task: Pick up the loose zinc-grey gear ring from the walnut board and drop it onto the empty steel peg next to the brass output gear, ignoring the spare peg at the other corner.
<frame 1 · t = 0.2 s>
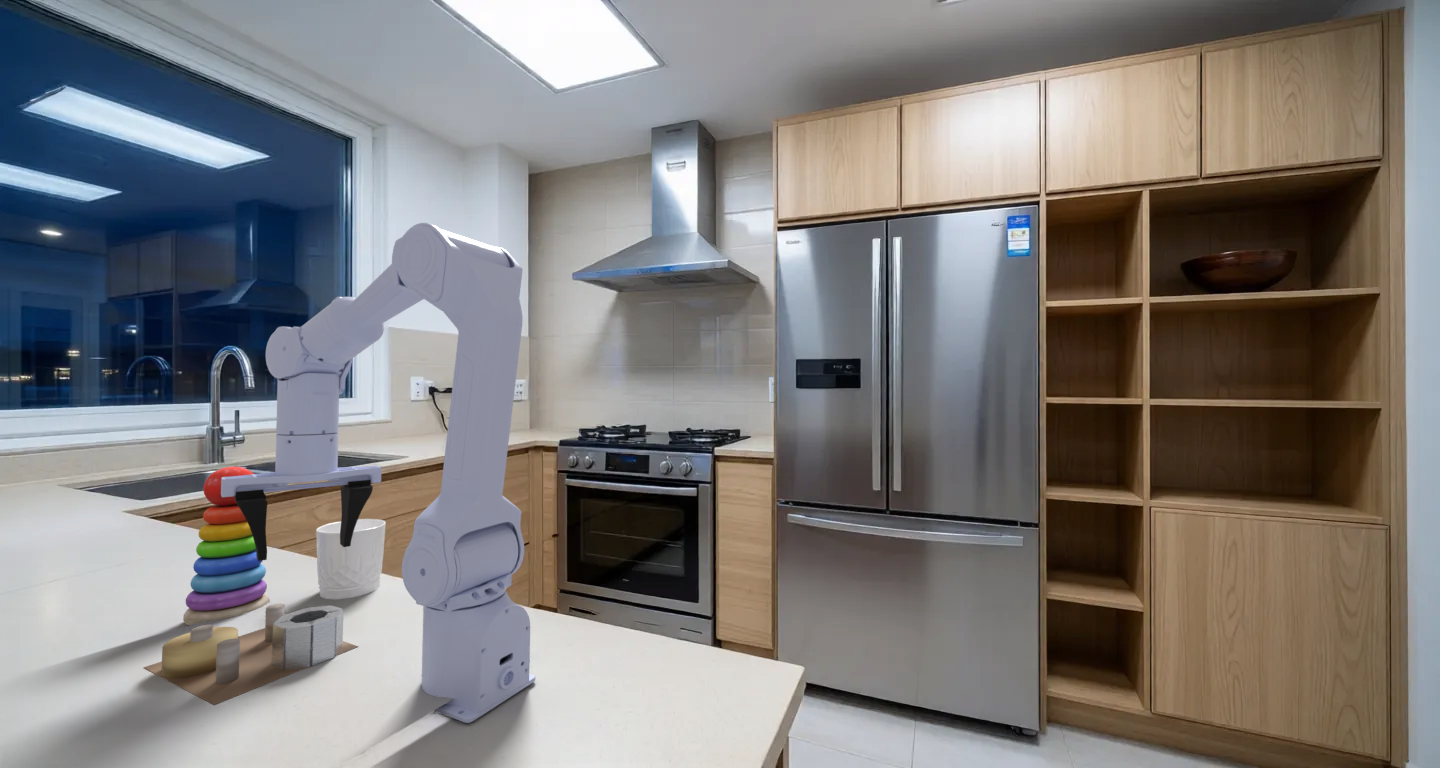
hand: (305, 551, 62), 10 cm above the counter, tool pointing down, fingers open, 7 cm apart
white cup: (350, 599, 73), on the counter
gear ring: (308, 655, 55), point 1 cm above the counter, touching board
stacking toy: (227, 618, 67), on the counter
board: (255, 668, 55), on the counter
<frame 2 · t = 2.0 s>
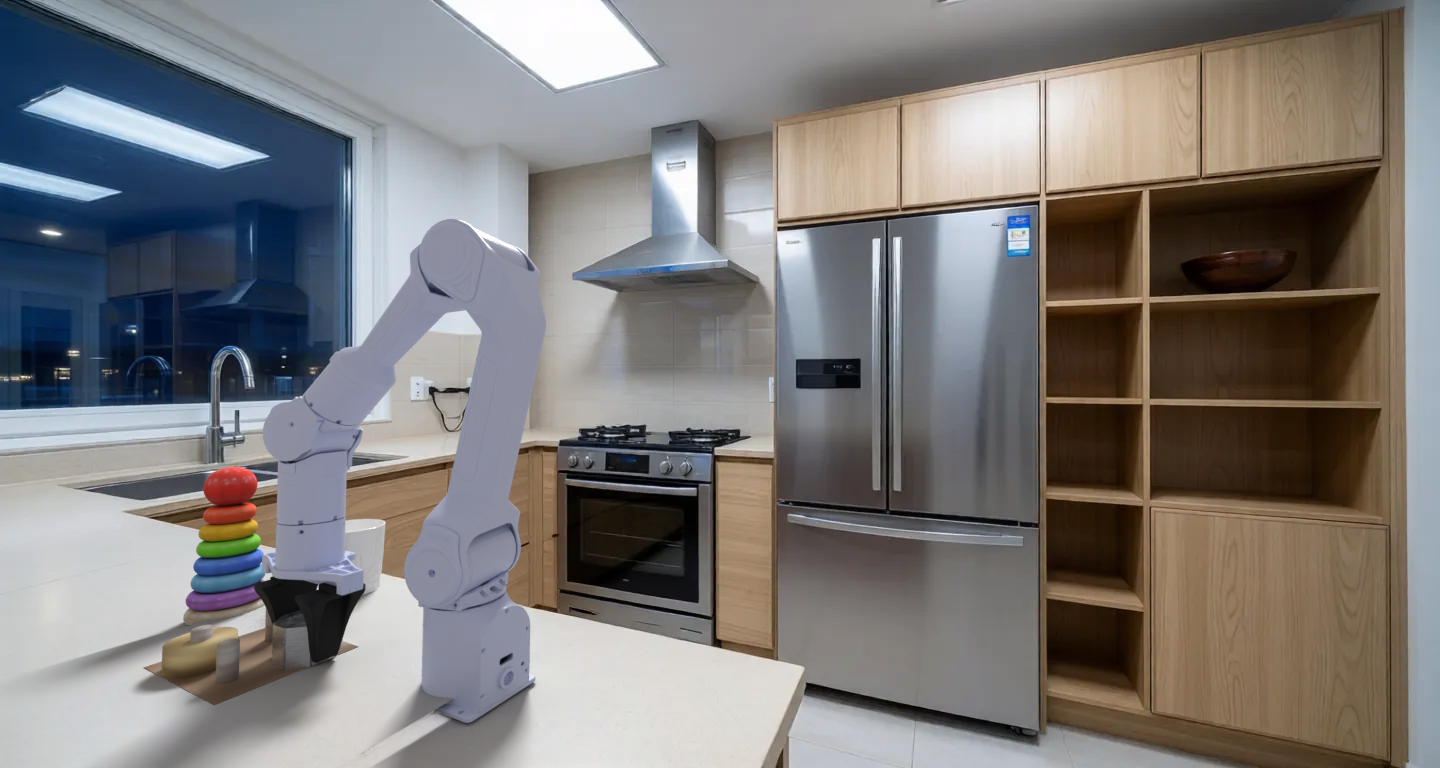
hand: (308, 651, 55), 2 cm above the counter, tool pointing down, fingers closed on gear ring, 5 cm apart
gear ring: (308, 655, 55), point 1 cm above the counter, touching board, gripper
everything else where it was.
when the fingers open (4 cm above the counter, at t = 5.1 s): gear ring drops 2 cm, resting on board.
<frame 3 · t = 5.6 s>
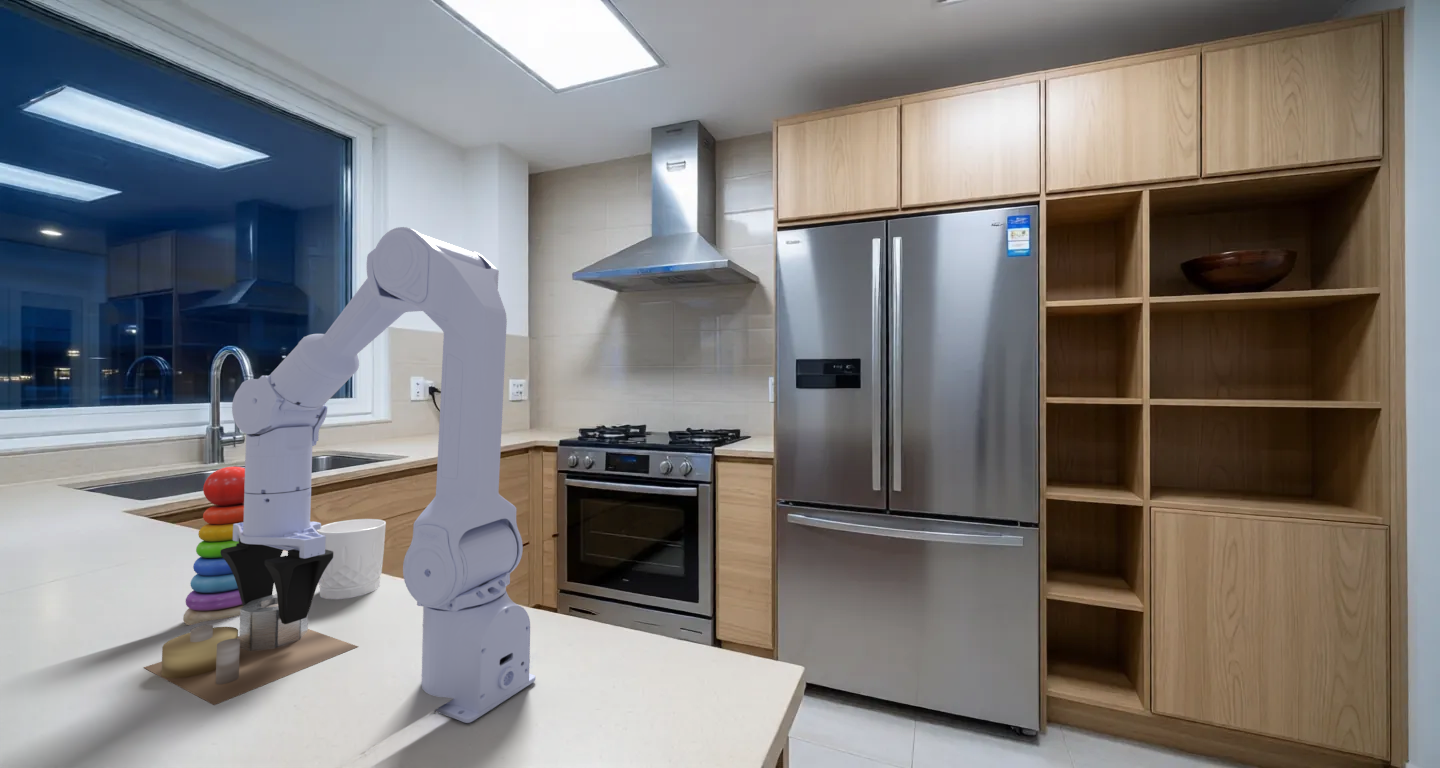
hand: (275, 613, 59), 4 cm above the counter, tool pointing down, fingers open, 7 cm apart
gear ring: (274, 638, 59), point 1 cm above the counter, touching board
everything else where it was.
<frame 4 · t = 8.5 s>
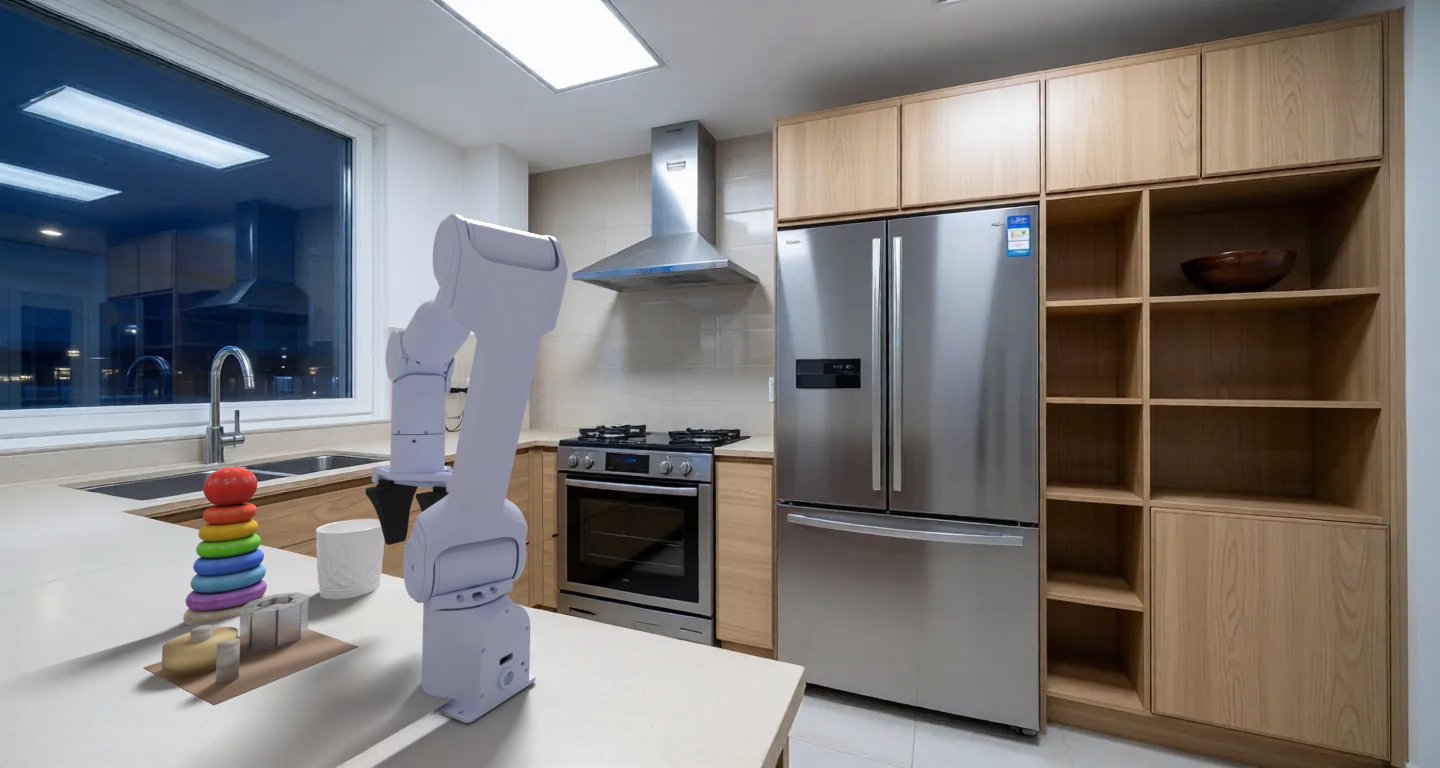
hand: (416, 546, 64), 10 cm above the counter, tool pointing down, fingers open, 7 cm apart
nothing on the counter moved.
at the end: gear ring 0.1 cm from the target spot on the board, point 1.2 cm above the board's base; gear ring tilted 0°; the gripper is holding nothing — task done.
